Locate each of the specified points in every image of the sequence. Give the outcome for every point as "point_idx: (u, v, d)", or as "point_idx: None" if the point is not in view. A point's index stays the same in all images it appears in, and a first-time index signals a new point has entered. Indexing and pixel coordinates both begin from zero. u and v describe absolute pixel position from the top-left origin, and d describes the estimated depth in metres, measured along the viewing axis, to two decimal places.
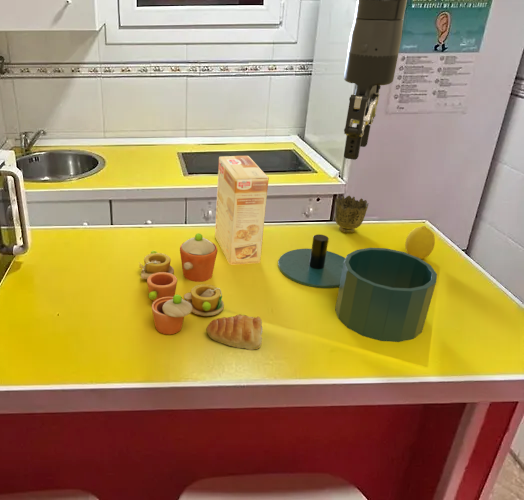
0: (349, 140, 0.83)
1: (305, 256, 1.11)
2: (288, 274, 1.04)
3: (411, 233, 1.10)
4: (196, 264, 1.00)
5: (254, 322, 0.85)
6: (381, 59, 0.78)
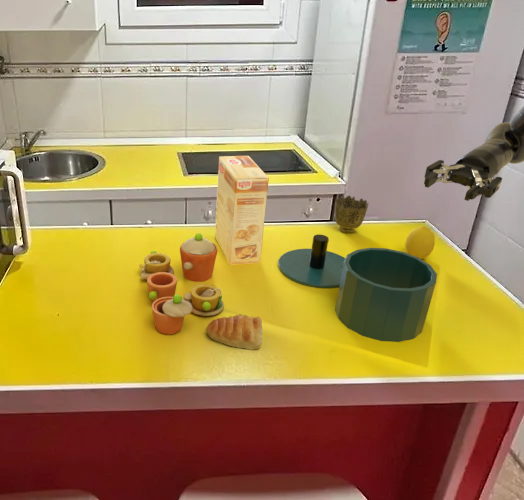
0: None
1: (305, 256, 1.11)
2: (288, 274, 1.04)
3: (411, 233, 1.10)
4: (196, 264, 1.00)
5: (254, 322, 0.85)
6: None
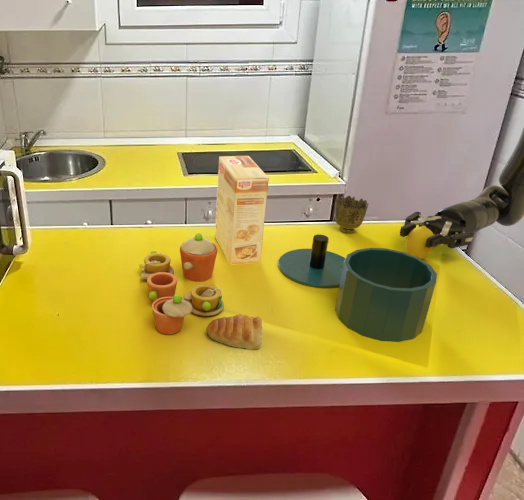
0: None
1: (305, 256, 1.11)
2: (288, 274, 1.04)
3: (411, 233, 1.10)
4: (196, 264, 1.00)
5: (254, 322, 0.85)
6: None
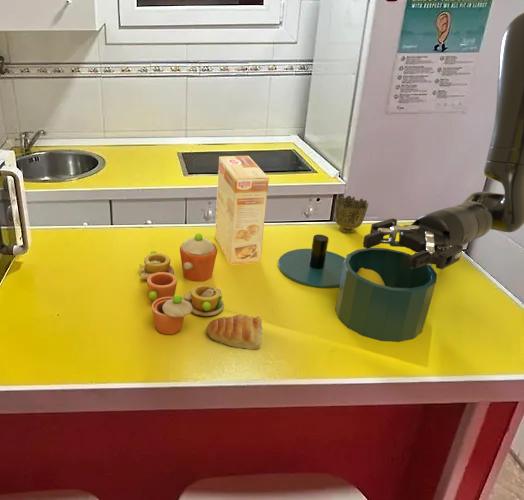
0: None
1: (305, 256, 1.11)
2: (288, 274, 1.04)
3: None
4: (196, 264, 1.00)
5: (254, 322, 0.86)
6: None
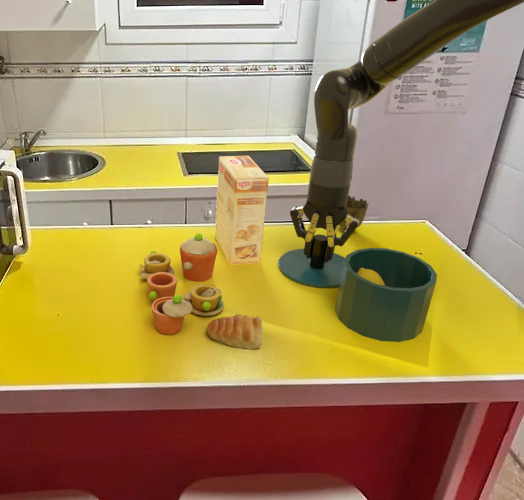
0: None
1: (305, 256, 1.11)
2: (288, 274, 1.04)
3: None
4: (196, 264, 1.00)
5: (253, 322, 0.86)
6: (310, 183, 0.99)
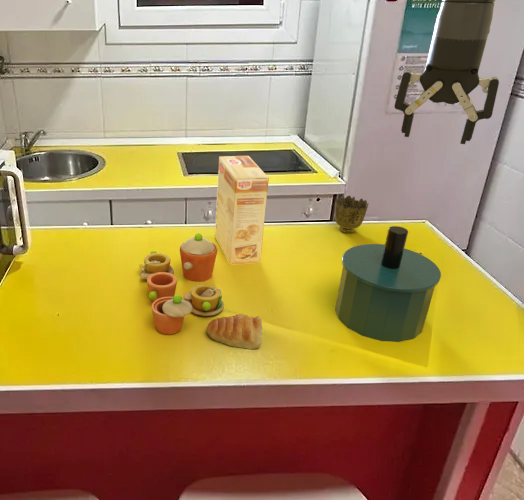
0: None
1: (373, 253, 0.91)
2: (358, 275, 0.84)
3: None
4: (196, 264, 1.00)
5: (253, 322, 0.86)
6: (434, 40, 0.79)
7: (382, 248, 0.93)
